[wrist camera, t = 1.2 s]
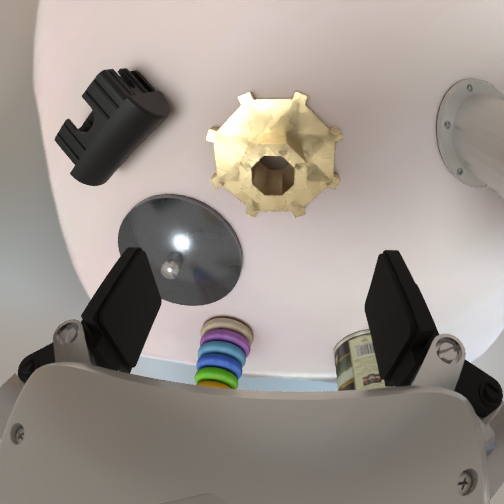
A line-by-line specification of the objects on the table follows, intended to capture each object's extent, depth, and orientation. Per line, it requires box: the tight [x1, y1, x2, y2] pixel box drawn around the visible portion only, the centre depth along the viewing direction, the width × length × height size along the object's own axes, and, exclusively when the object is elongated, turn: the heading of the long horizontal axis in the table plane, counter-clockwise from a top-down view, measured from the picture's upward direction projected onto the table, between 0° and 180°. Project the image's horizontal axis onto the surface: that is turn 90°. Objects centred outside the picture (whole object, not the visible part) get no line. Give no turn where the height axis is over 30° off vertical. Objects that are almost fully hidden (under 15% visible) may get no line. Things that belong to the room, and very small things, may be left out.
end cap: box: [55, 68, 169, 186], centre depth 21 cm, size 10×7×7 cm
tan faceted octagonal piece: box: [206, 91, 343, 218], centre depth 23 cm, size 12×12×6 cm
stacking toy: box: [195, 318, 253, 389], centre depth 34 cm, size 8×8×19 cm
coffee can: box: [334, 330, 395, 391], centre depth 36 cm, size 10×10×14 cm
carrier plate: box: [118, 194, 242, 306], centre depth 32 cm, size 16×16×4 cm
